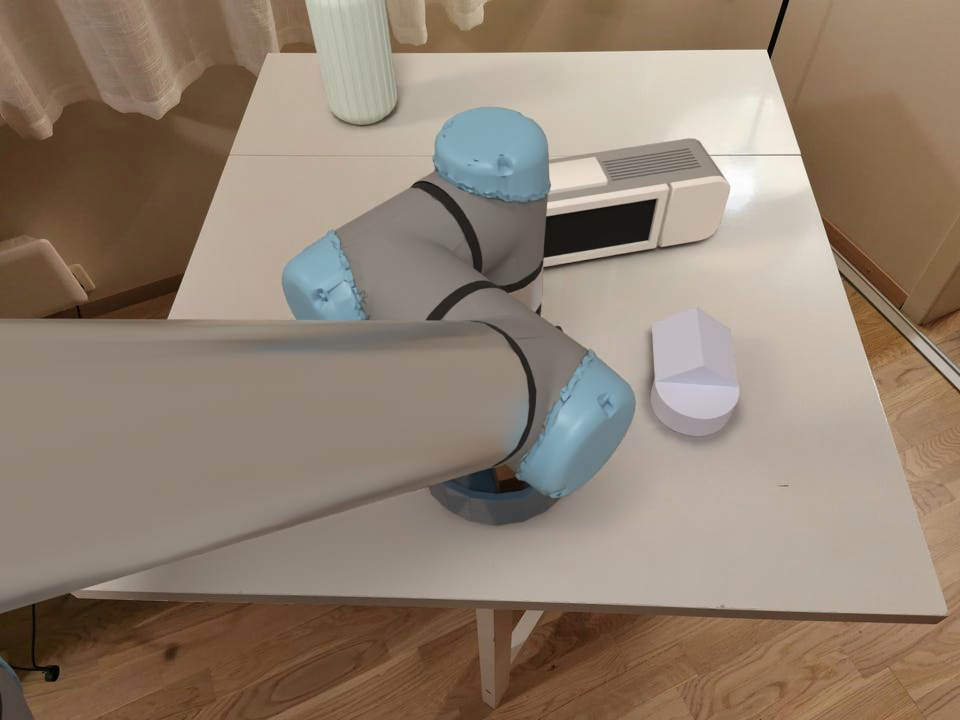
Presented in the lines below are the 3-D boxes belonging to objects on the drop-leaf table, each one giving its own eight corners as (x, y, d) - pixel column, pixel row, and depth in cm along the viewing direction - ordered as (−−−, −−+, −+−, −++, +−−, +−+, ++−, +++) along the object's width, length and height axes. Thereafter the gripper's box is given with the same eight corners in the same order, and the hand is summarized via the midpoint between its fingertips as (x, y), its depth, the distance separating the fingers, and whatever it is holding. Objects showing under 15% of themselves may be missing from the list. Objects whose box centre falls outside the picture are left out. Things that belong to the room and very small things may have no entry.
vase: (407, 96, 121) (391, -42, 103) (387, 135, 114) (365, -7, 96) (344, 90, 123) (317, -47, 105) (320, 127, 116) (287, -13, 98)
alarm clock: (518, 278, 93) (520, 206, 83) (502, 232, 98) (502, 160, 89) (714, 245, 96) (736, 172, 86) (688, 202, 101) (706, 129, 92)
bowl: (497, 561, 69) (496, 534, 64) (389, 456, 76) (381, 426, 72) (607, 457, 76) (614, 426, 71) (498, 370, 83) (497, 337, 79)
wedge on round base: (647, 342, 85) (651, 432, 77) (656, 304, 80) (662, 396, 72) (723, 347, 85) (736, 439, 77) (737, 308, 79) (753, 403, 71)
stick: (523, 493, 72) (524, 474, 69) (499, 499, 72) (499, 480, 69) (495, 408, 79) (495, 387, 76) (473, 413, 78) (471, 392, 75)
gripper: (571, 248, 60) (556, 406, 78) (390, 285, 58) (418, 438, 76) (603, 311, 55) (579, 463, 74) (408, 353, 53) (433, 499, 72)
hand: (497, 450), depth 75 cm, fingers closed on stick, 3 cm apart
